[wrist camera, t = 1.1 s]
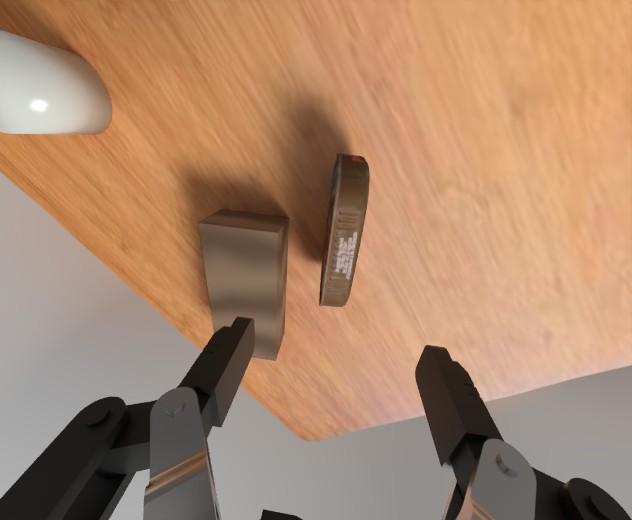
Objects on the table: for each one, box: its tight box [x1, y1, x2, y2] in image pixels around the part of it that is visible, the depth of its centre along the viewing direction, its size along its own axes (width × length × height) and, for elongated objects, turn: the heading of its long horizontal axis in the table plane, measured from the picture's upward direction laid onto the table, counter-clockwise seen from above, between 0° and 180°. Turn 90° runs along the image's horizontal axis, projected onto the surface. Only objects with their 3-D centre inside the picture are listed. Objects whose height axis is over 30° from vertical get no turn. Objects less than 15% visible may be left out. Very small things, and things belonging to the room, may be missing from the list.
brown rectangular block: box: [198, 210, 289, 361], centre depth 29 cm, size 18×8×5 cm, turn 175°
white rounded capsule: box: [0, 30, 112, 135], centre depth 21 cm, size 7×7×7 cm
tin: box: [319, 152, 369, 307], centre depth 23 cm, size 15×3×8 cm, turn 174°
